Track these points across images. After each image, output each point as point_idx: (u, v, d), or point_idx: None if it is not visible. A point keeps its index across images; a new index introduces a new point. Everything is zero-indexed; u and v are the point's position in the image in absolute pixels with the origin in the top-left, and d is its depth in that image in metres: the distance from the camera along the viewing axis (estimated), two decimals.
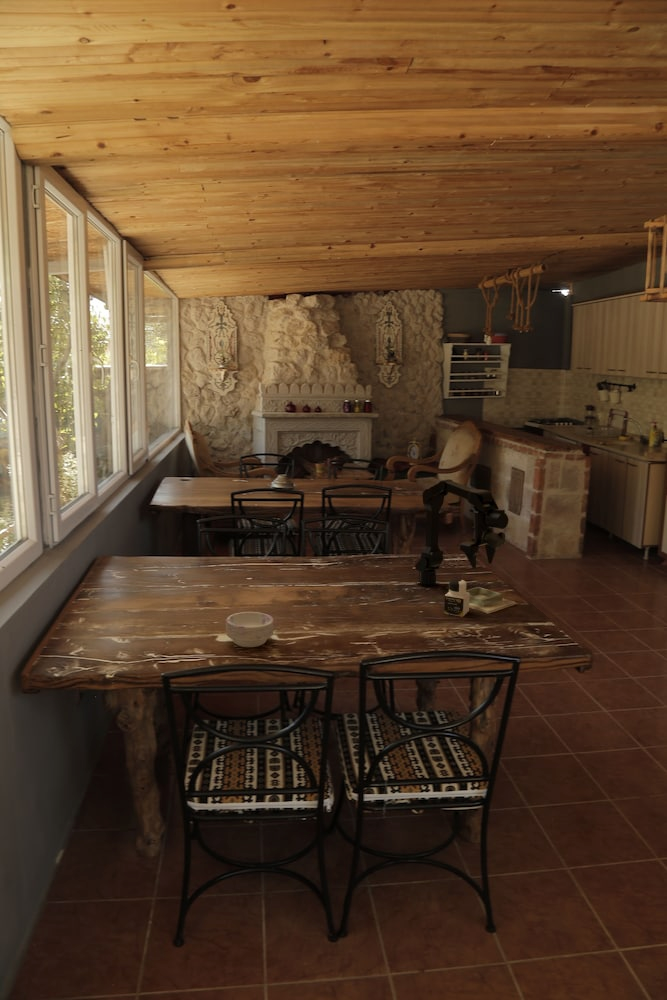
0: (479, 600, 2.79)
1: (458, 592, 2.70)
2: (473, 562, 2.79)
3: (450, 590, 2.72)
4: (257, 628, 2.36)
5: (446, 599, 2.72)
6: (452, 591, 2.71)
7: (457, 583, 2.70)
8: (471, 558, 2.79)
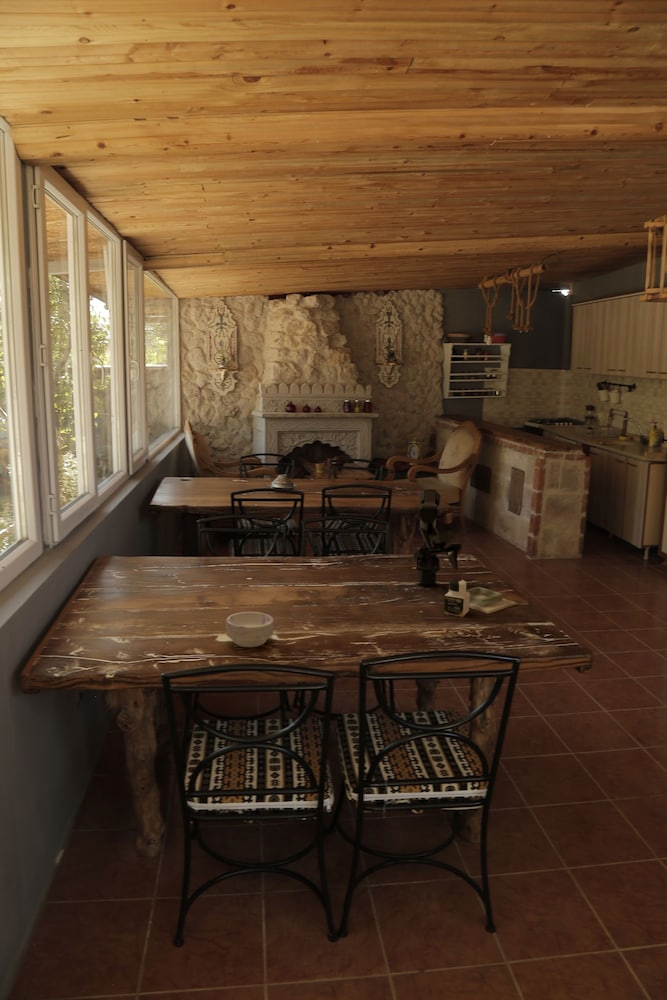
0: (479, 600, 2.79)
1: (458, 592, 2.70)
2: (431, 566, 2.77)
3: (450, 590, 2.72)
4: (257, 628, 2.36)
5: (446, 599, 2.72)
6: (452, 591, 2.71)
7: (457, 583, 2.70)
8: (428, 564, 2.78)
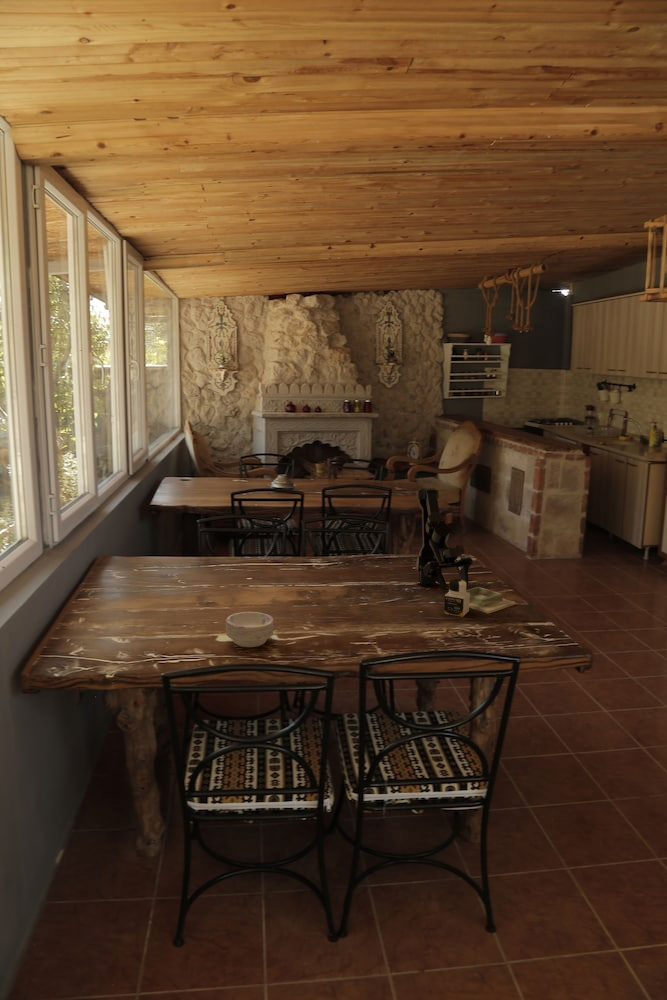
0: (479, 600, 2.79)
1: (458, 592, 2.70)
2: (442, 581, 2.71)
3: (450, 590, 2.72)
4: (257, 628, 2.36)
5: (446, 599, 2.72)
6: (452, 591, 2.71)
7: (457, 583, 2.70)
8: (439, 579, 2.72)
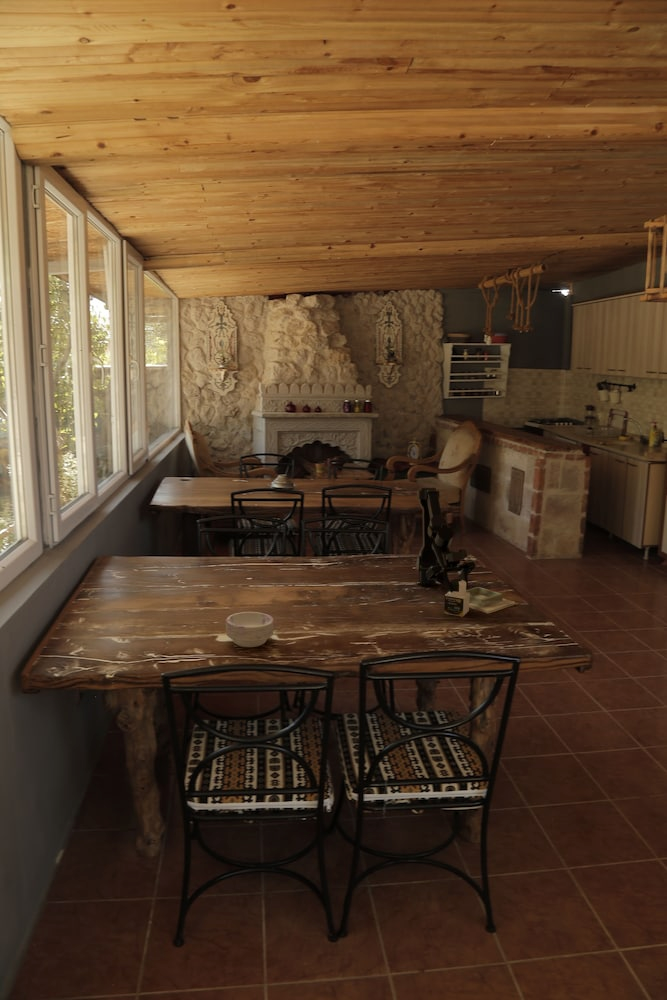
0: (479, 600, 2.79)
1: (458, 592, 2.70)
2: (448, 585, 2.71)
3: None
4: (257, 628, 2.36)
5: (446, 599, 2.72)
6: None
7: (457, 583, 2.70)
8: (445, 582, 2.72)
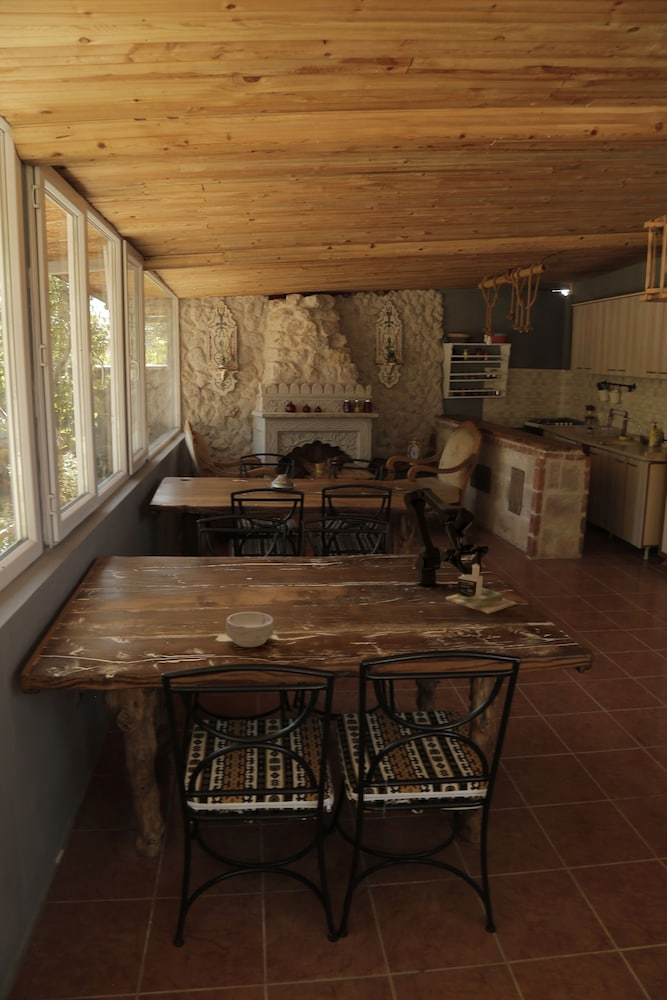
0: (479, 600, 2.79)
1: (471, 575, 2.76)
2: (461, 568, 2.77)
3: None
4: (257, 628, 2.36)
5: (459, 582, 2.78)
6: None
7: (470, 566, 2.76)
8: (458, 565, 2.78)
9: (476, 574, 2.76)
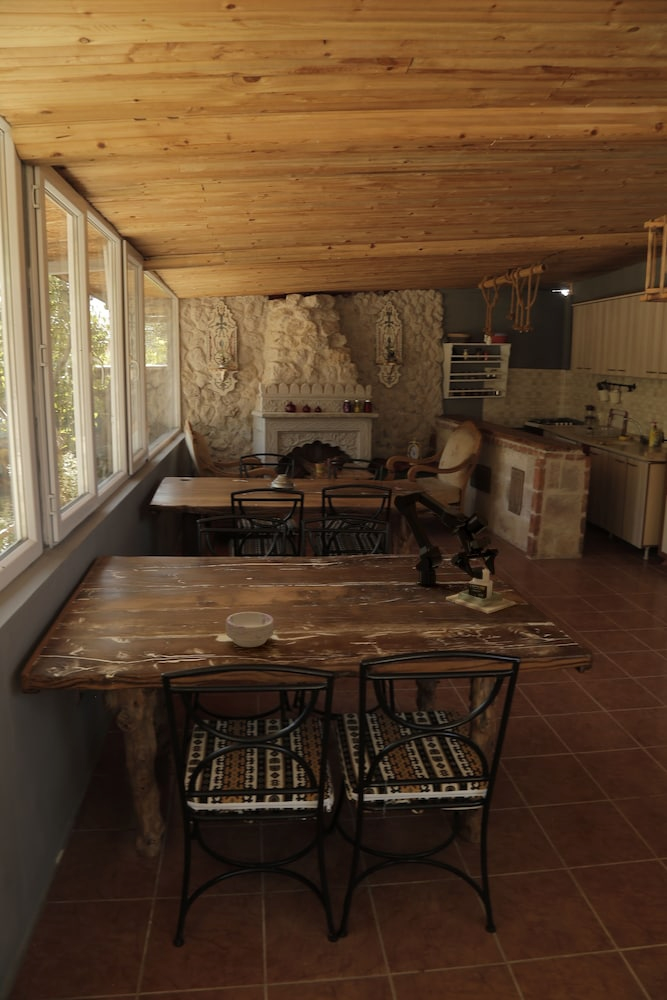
0: (479, 600, 2.79)
1: (482, 580, 2.82)
2: (469, 571, 2.81)
3: (474, 578, 2.83)
4: (257, 628, 2.36)
5: (470, 586, 2.83)
6: (476, 579, 2.82)
7: (481, 571, 2.82)
8: (466, 568, 2.83)
9: (486, 579, 2.82)
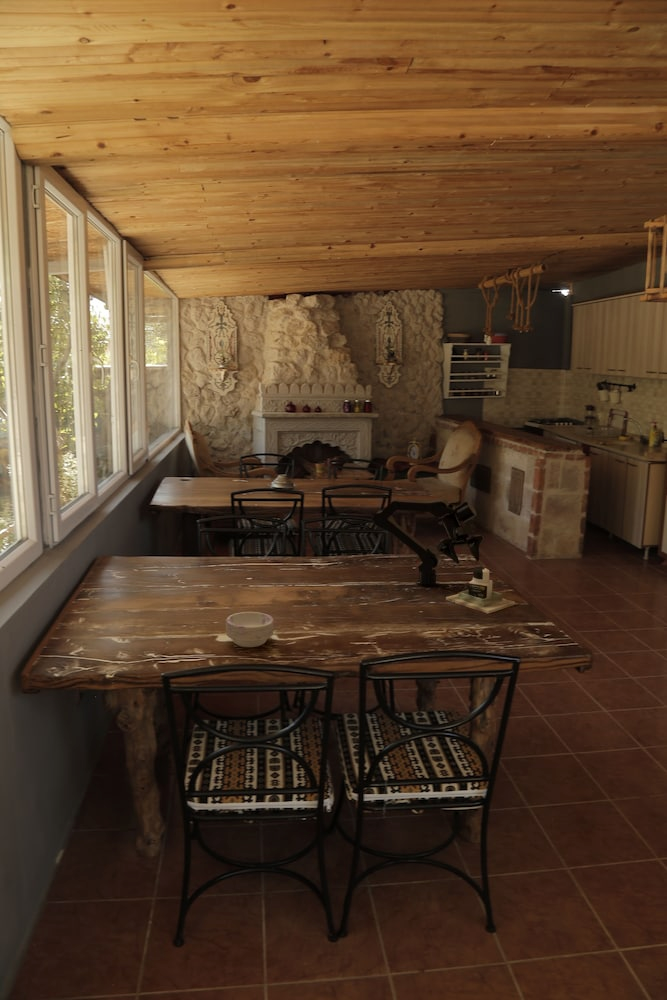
0: (479, 600, 2.79)
1: (482, 580, 2.82)
2: (454, 557, 2.89)
3: (474, 578, 2.83)
4: (257, 628, 2.36)
5: (470, 586, 2.83)
6: (476, 579, 2.82)
7: (481, 571, 2.82)
8: (451, 555, 2.90)
9: (486, 579, 2.82)
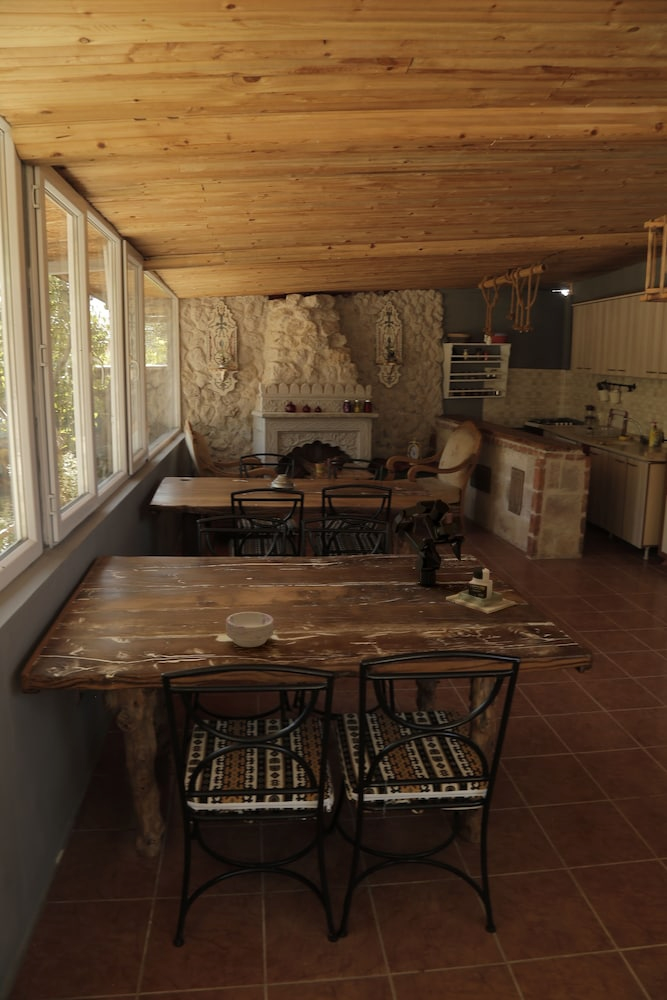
0: (479, 600, 2.79)
1: (482, 580, 2.82)
2: (436, 556, 2.89)
3: (474, 578, 2.83)
4: (257, 628, 2.36)
5: (470, 586, 2.83)
6: (476, 579, 2.82)
7: (481, 571, 2.82)
8: (433, 554, 2.90)
9: (486, 579, 2.82)
